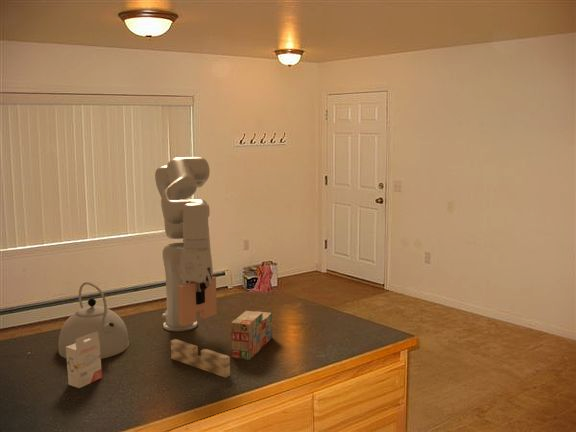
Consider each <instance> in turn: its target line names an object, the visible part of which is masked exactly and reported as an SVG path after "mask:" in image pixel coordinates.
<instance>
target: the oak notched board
mask: <svg viewBox="0 0 576 432" xmlns="http://www.w3.org/2000/svg"><path fill="white" fill-rule="evenodd" d="M170 355H171V356H170V359H172V360H174V361H177V362H181V363H183V364H186V365H189V366H191V367H194V368H197V369H200V370H203V371H206V372H208V373H212V374H214V375H217V376H219V377H223V378H225V379H226V378H228V377H229V376H231V362H230V361H231V357H230V355H226V354H223V353H220V352H218V351H214V350H211V349H208V348H203V349H201V350H200V355H199V349H198V345H196V344H192V343H189V342H186V341H183V340H180V339H177V338H175V339H172V340H170Z"/></svg>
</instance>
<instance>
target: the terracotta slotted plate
mask: <svg viewBox="0 0 576 432" xmlns="http://www.w3.org/2000/svg"><path fill="white" fill-rule="evenodd" d="M212 283H213V285H211V286H208V287H207V288H206V290H205V303H202V304H199V305H197V304H196V292H197V283H195V282H190V283H186V284H183V285H179V286H178V316H179V325H181V326H185V325H188V324H191V323H194V322H196V321H197V312H199V318H201V319H204V320H205V319H207V318H210V317H213V316H216V315H217V313H218V311H217V308H218V307H217V277H216V276H213V277H212ZM201 285H202V284H201Z"/></svg>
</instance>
